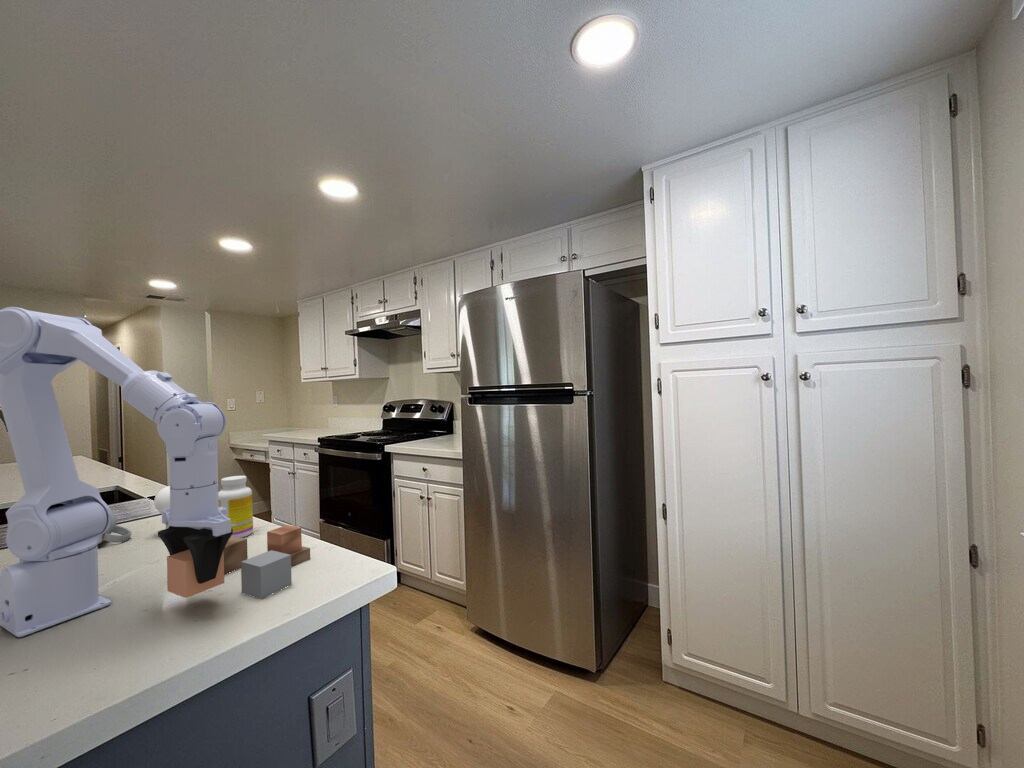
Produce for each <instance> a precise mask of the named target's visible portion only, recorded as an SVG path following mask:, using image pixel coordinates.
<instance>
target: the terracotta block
mask: <svg viewBox="0 0 1024 768" xmlns="http://www.w3.org/2000/svg"><path fill="white" fill-rule="evenodd" d="M166 573H167V574H166V575H167V577H166V580H167V581H166V583H167V587H166V588H167V592H169V593H172V594H175V595H177V596H180V597H182V598H184V599H187V598H191V597H193V596H195V595H197V594H200V593H203V592H205V591H209V590H210V589H213V588H216V587H218V586H220V585H223V584H225V575H224V550H223V553H222V556H221V559H220V563H219V567H218V571H217V575H216V578H215V579H212V580H210V581H207V582H204V583H202V584H199V583H198V582H197V579H196V575H195V569H194V562H193V558H192V555H191V552H190V550H186V551H183V552H180V553H177V554H173V555H170V554H169V555H168V556H166Z"/></svg>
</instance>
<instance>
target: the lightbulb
mask: <svg viewBox="0 0 1024 768" xmlns="http://www.w3.org/2000/svg"><path fill="white" fill-rule="evenodd" d="M153 505H154V507H155V509H156V510H157V511H158V512H159V513H160V514H161V515H162V511H164V510H168V509H170V485H168V486H164V487H163V488H161V489H160V490H159V491H158V492H157V493H156V494H155V497H154V500H153ZM164 525H165V526H164V527H165V529H168V528H169V526H170V525H169V524H164Z"/></svg>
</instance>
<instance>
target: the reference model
mask: <svg viewBox="0 0 1024 768" xmlns="http://www.w3.org/2000/svg"><path fill="white" fill-rule="evenodd" d="M266 532H267V533H266V535H267V536H266V537H267V538H266V539H267V540H266V547H267V552H268V551H271V550H273V551H277V552H281V553H285V554H289V555H291V566H292V567H294V565H295V566H296V564H297V565H298V563H299V564H302V563H303V562H306V561H309V560H311V547H307V546H303V544H302V543H303V542H302V541H303V540H302V539H303V538H302V537H303V535H302V527H299V526H295V525H288V524H287V525H283V526H280V527H277V528H274V529H271V530H269V531H266ZM263 553H264V552H262V553H261V554H263ZM301 562H302V563H301Z"/></svg>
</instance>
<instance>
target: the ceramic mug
mask: <svg viewBox="0 0 1024 768" xmlns="http://www.w3.org/2000/svg"><path fill="white" fill-rule="evenodd" d="M111 513H112V521H111V525H110V527H109V529H108V530H107V531H106V532H105V533H104V534H102V541H101V542H99V543H98V544H97V545H101V543H102V542H103V541H104V542H108V543H124V541H125V542H127V541H128V540H129V539H130V538H131V536H132V533H133V531H132V530H131V529H129V528H127V527H124V526H121V525H117V523H118V519H117V515H116V513H114V511H113V510H111ZM126 540H127V541H126Z"/></svg>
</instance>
